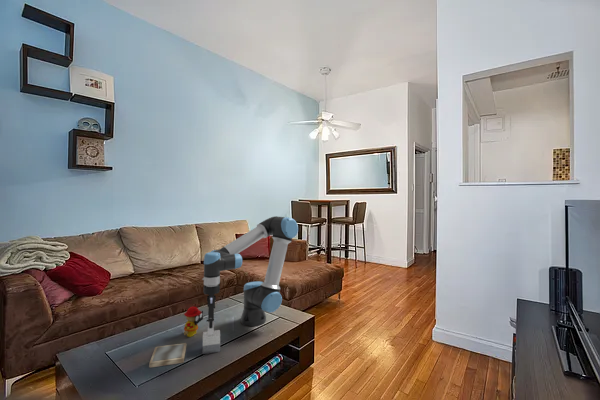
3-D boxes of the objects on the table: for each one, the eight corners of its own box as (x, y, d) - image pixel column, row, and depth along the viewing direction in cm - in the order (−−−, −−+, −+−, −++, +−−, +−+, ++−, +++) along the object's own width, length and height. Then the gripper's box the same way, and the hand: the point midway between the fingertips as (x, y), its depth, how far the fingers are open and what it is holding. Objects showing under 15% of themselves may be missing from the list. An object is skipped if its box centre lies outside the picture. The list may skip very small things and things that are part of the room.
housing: (219, 345, 145) (219, 329, 145) (220, 351, 139) (220, 335, 139) (203, 347, 143) (203, 331, 143) (202, 354, 137) (202, 337, 137)
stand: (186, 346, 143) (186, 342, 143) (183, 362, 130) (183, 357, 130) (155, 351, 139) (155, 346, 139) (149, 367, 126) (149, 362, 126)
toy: (194, 340, 150) (194, 311, 150) (178, 338, 152) (178, 310, 152) (205, 330, 161) (205, 303, 161) (190, 328, 163) (191, 302, 163)
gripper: (204, 278, 151) (203, 318, 151) (202, 293, 127) (201, 341, 128) (219, 277, 154) (218, 316, 154) (220, 292, 130) (219, 339, 130)
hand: (210, 328), depth 141 cm, fingers open, 13 cm apart
